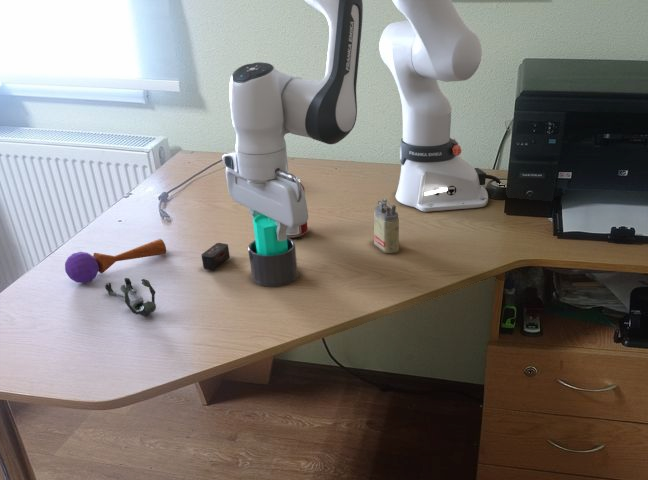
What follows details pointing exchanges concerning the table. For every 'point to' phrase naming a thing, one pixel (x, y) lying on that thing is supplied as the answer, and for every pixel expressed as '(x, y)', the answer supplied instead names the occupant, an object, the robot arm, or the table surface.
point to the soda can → (300, 229)
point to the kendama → (106, 260)
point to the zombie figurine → (135, 305)
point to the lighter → (386, 227)
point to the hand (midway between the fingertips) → (270, 234)
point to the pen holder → (273, 266)
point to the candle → (267, 236)
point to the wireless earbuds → (215, 256)
